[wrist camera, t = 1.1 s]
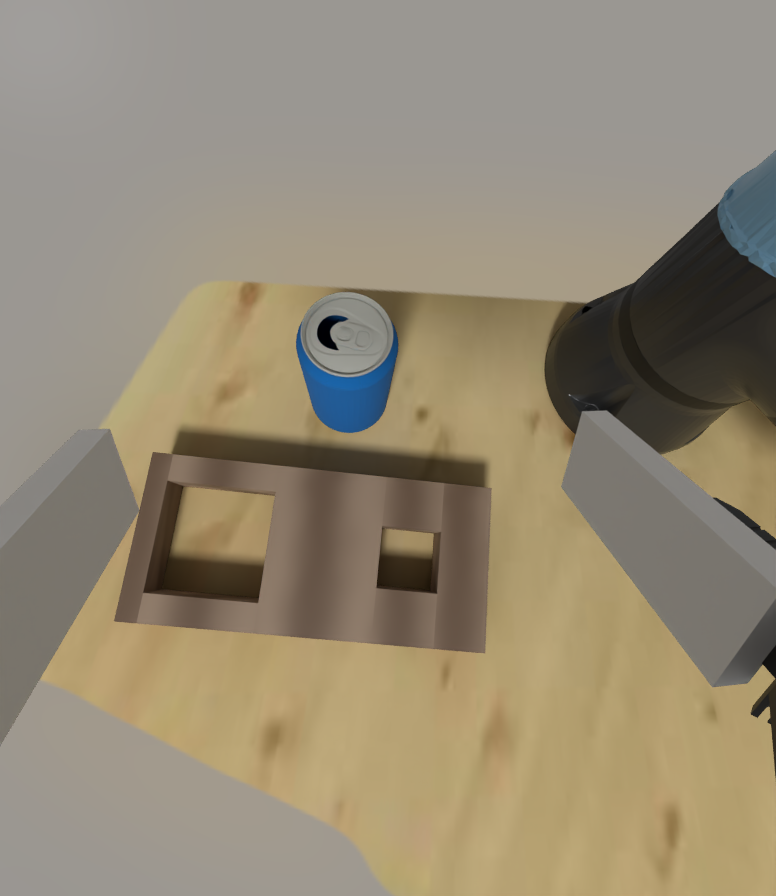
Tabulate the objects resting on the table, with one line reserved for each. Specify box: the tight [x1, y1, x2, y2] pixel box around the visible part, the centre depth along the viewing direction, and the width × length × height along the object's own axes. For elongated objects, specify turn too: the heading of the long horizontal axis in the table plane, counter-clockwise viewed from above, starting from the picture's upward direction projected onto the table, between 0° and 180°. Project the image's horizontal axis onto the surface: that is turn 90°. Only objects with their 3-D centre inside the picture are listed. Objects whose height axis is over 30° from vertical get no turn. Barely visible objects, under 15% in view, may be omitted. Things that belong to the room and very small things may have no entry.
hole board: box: [114, 452, 491, 653], centre depth 33 cm, size 26×12×3 cm, turn 85°
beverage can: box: [296, 292, 398, 433], centre depth 32 cm, size 6×6×12 cm
